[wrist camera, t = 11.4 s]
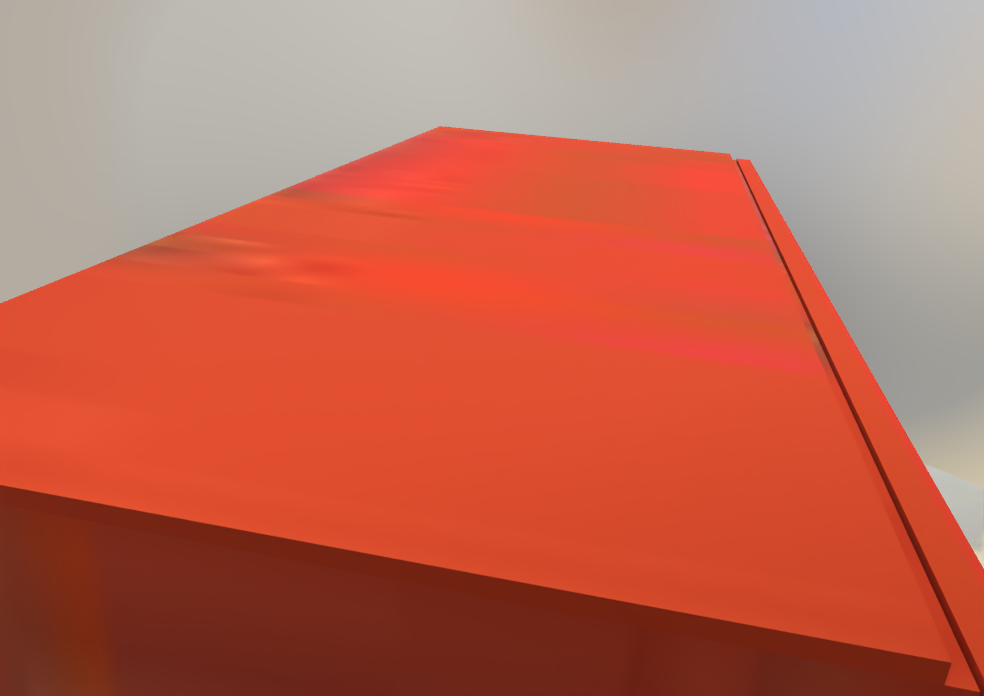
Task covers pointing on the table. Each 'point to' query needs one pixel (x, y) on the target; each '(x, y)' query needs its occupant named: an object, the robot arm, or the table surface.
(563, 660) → the file binder
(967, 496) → the table surface
